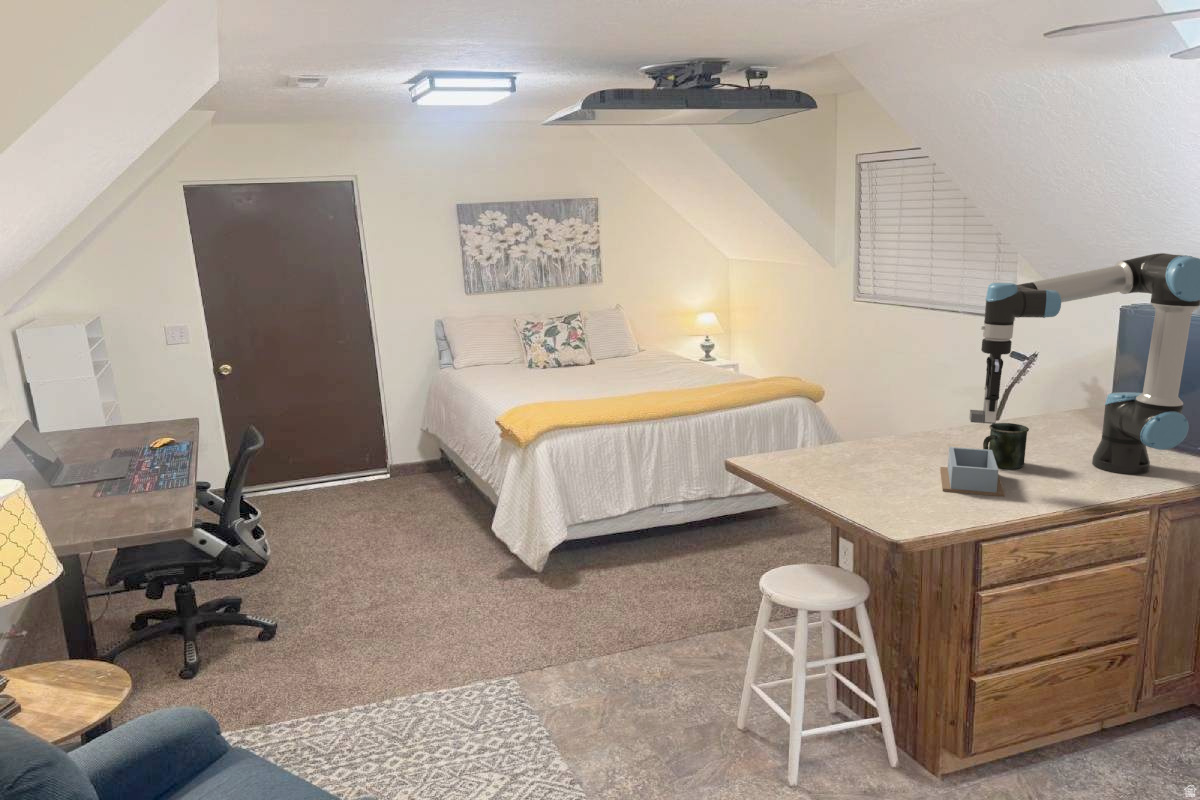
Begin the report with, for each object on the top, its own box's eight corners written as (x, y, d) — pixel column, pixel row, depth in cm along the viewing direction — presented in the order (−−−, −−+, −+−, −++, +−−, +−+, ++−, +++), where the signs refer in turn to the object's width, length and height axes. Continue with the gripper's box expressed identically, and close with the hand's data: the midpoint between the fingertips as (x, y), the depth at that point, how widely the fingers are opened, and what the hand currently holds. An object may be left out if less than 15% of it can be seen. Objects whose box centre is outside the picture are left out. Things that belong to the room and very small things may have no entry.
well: (997, 473, 267) (999, 450, 266) (1004, 496, 248) (1006, 471, 246) (940, 469, 272) (942, 446, 271) (942, 491, 253) (944, 466, 251)
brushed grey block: (993, 419, 256) (997, 385, 254) (995, 423, 252) (998, 389, 249) (969, 418, 258) (972, 384, 256) (970, 422, 254) (973, 387, 251)
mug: (1033, 467, 273) (1037, 429, 270) (995, 473, 268) (999, 434, 265) (1006, 457, 283) (1009, 421, 280) (969, 463, 278) (972, 426, 275)
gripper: (979, 333, 258) (972, 411, 264) (985, 343, 242) (977, 426, 247) (1007, 334, 256) (999, 413, 262) (1015, 344, 240) (1007, 428, 245)
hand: (989, 419), depth 254 cm, fingers closed on brushed grey block, 5 cm apart
